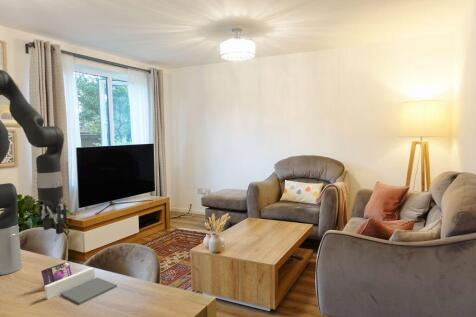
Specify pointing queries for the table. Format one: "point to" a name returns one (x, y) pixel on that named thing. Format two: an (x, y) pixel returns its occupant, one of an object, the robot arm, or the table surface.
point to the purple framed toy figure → (58, 275)
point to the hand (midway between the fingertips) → (53, 231)
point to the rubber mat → (88, 290)
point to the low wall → (69, 282)
